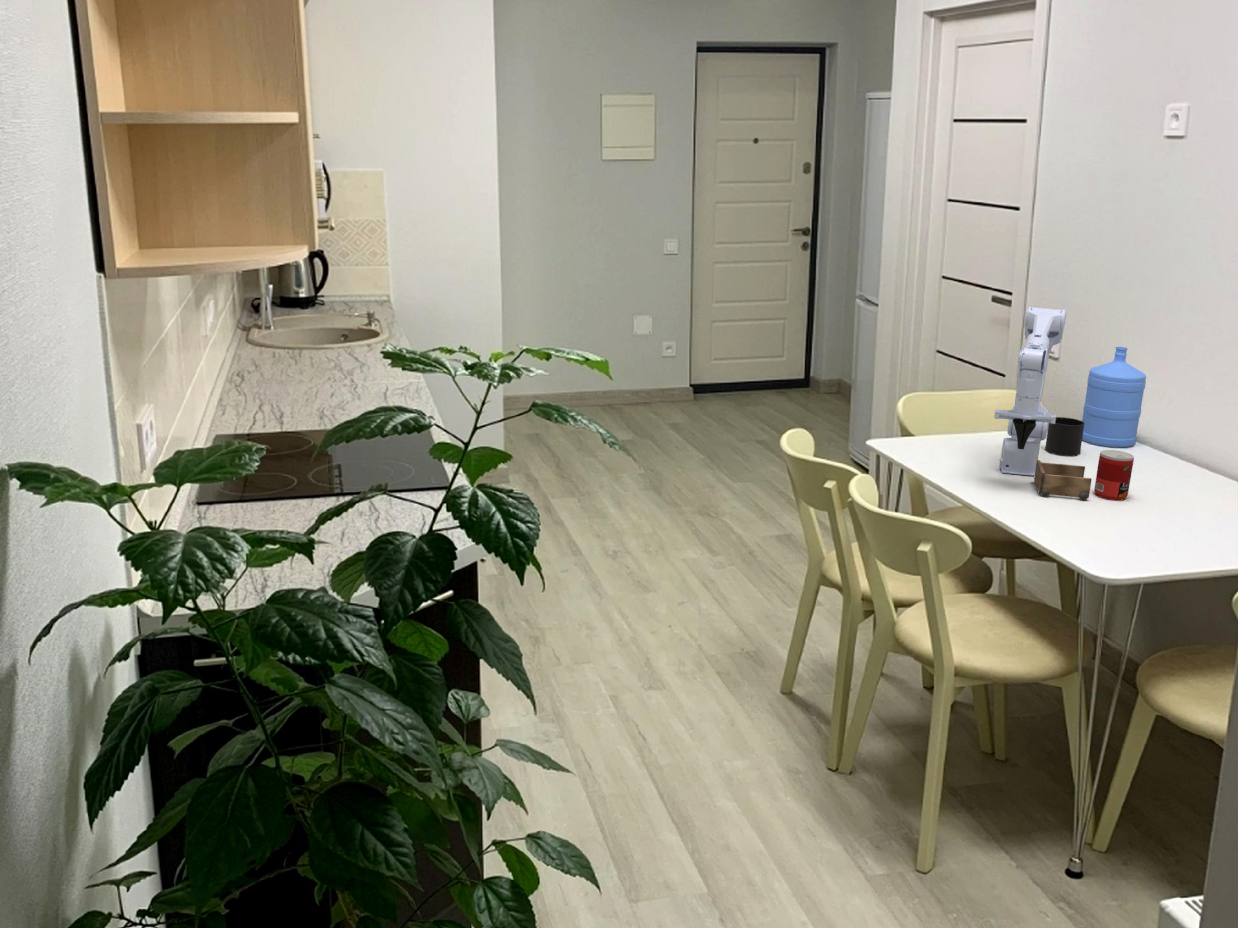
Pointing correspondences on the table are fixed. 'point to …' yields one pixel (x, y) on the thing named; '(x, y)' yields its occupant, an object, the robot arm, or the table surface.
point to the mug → (1065, 437)
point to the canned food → (1113, 474)
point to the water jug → (1113, 403)
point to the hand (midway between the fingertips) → (1020, 448)
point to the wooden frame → (1061, 480)
